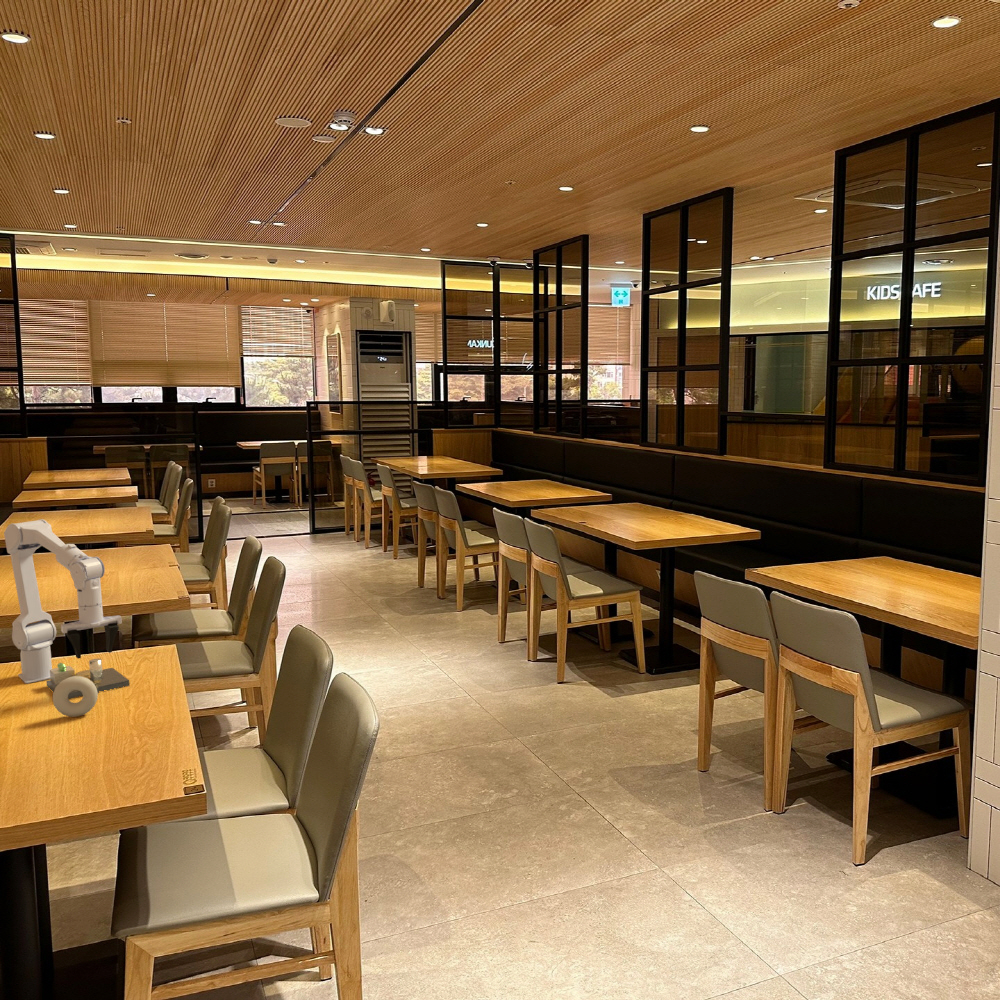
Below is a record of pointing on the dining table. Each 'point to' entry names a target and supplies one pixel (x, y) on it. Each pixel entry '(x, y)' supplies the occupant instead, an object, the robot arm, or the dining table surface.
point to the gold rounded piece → (93, 671)
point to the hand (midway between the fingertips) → (94, 654)
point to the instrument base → (108, 682)
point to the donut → (80, 707)
